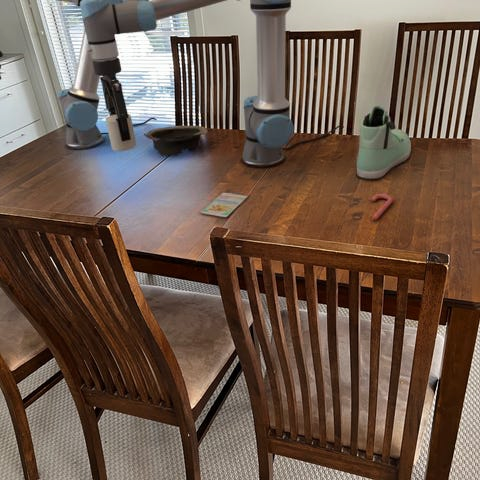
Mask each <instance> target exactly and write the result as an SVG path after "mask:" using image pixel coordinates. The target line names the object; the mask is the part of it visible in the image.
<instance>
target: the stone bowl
mask: <svg viewBox="0 0 480 480" xmlns="http://www.w3.org/2000/svg"><path fill="white" fill-rule="evenodd" d="M207 133H208V128H206V127H204V126H199V125H173V126H165V127H159V128H154V129H151V130H149V131H148V132H146V133H143V136H145V137H146V138H147V139H149V140H150V141H152V145H153V148H154V150H156V151H157V153H158V155H159V156H161V157H171V156H178V155H181V154H182V152H184V151H189V152H193V151H197V150H198V148H199V146H200V140H201V135H206V134H207Z"/></svg>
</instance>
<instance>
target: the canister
mask: <svg viewBox="0 0 480 480" xmlns="http://www.w3.org/2000/svg"><path fill="white" fill-rule="evenodd" d="M122 115H124V114H122ZM128 116H129V118H127V122H128V127H129V132H130V137H131V140H127V141H123V142H122V141H121V136H120V131H119V127H118V122H117V121H116V119H117V118H118V117H117V114H115V115H111V116H110V115H109V116H107V117H105V124H106V129H107V133H109V135H108V137H109V141H110V146H111V149H112V150H113V151H116V152H123V151H129V150H133V149H134V148H135V147H137V139H136V135H135V130H134V126H133V125H132V124H133V120H132V116H131V114H130V113H128Z"/></svg>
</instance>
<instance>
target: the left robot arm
mask: <svg viewBox="0 0 480 480" xmlns="http://www.w3.org/2000/svg"><path fill="white" fill-rule="evenodd" d="M56 1H57V2H64V3H72V4H74V5H75V7H80V2H81V1H82V0H56ZM108 2H109V4H121V3H123V2H124V0H108ZM89 48H90V47H89V44H88V40H87V36H86V32H85V28H84V30H83V35H82V40H81V45H80V48H79V49H80V50H79V56H78V61H77V66H76V71H75V75H74V81H73V86H71V87H69V88H65V89H64V88H63V89H61V90H59V91H58V93H57V96H58V100H59V105H60V107H61V111H62V112H61V113H62V116H63V119H64V123H65V126H66V133H65V144H66V148H68V149H70V150H85V149H92V148H94V147H97V146H99V145H102V143H104V135H107V136H109V133H108V132H101V130H100V129H99V127H98V125H97V124H98V123H97V122H98V120H99V113H98V108H99V104H100V98H101V97H100V96H99V94H98V88H99V83H100V77H101V76H99V75H96V74H95V71H94V67H93V61H94V60H93V59H92V57H91V52H88V49H89ZM3 57H4V53H3V52H2V51H1V50H0V58H3ZM0 70H2V64H1V63H0ZM0 80H2V76H1V75H0ZM152 120H154V121H157V118H155V117H150V118H148V119H147V120H145V121H143V122H139V123H132V125H133V127H136V126H142V125H145V124H148V122H150V121H152Z"/></svg>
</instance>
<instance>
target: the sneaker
mask: <svg viewBox="0 0 480 480" xmlns="http://www.w3.org/2000/svg"><path fill="white" fill-rule="evenodd" d="M396 127H397V126H396V124H395V123H394V122H393V121H392V120H391V117H390V115H388V111H387V110H386V108H385V107H384V106H382V105H374V106H373V107H372V108H371V110H370V112H369V113H368V114H367V115H365V116H364V117H363V118H362V120H361V122H360V126H359V139H358V141H359V142H358V143H359V145H358V146H359V147H358V153H357V158H356V173H357V176H358V177H359V178H362V179H367V180H377V179H380V178H382V177H384V176H385V174H387V173H388V172H389V171H390V170H391V169H392V168H394V167H395V166H397V165H400V164H401V163H404V162H405V161H407V160H408V158H409V157H410V155H411V151H412V144H411V143H412V142H411V139H410V137H409V135H408V134H407V132H406V131H404V130H402V129H396Z"/></svg>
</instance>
